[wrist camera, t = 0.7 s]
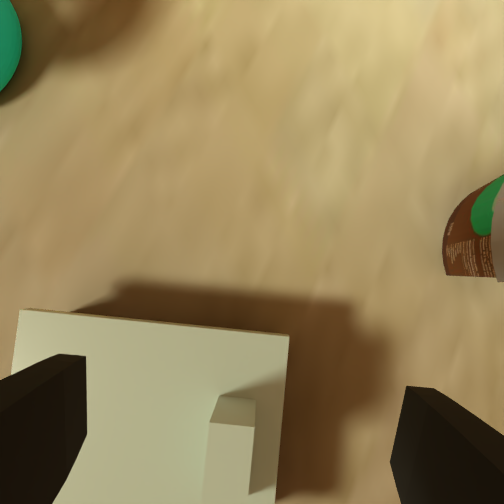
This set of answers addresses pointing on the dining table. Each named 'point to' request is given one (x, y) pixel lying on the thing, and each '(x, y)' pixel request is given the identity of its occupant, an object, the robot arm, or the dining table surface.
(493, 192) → the food container
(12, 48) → the donuts
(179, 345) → the lid
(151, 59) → the dining table surface
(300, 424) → the dining table surface
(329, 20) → the dining table surface
